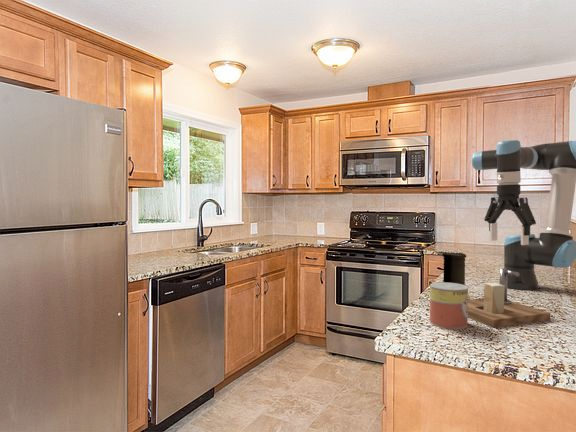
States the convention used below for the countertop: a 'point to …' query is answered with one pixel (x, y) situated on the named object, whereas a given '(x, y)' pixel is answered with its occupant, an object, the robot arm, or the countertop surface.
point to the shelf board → (505, 314)
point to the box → (494, 298)
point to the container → (454, 268)
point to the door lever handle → (503, 281)
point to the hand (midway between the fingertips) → (508, 242)
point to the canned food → (449, 305)
